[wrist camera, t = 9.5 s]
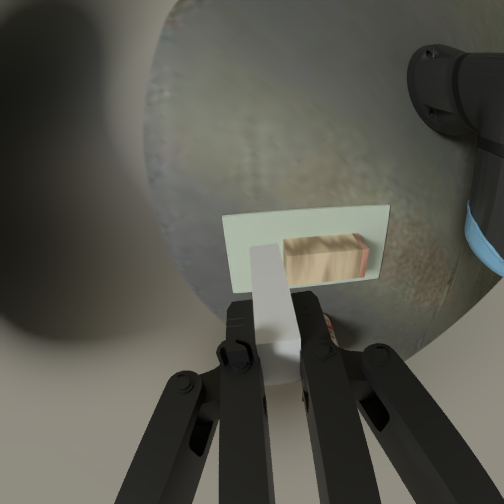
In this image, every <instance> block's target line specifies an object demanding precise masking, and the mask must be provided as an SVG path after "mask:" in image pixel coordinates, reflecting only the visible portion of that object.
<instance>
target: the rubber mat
mask: <svg viewBox="0 0 504 504" xmlns="http://www.w3.org/2000/svg"><path fill="white" fill-rule="evenodd" d="M389 210H390V205H389V204H384V205H359V206H339V207H322V208H306V209H292V210H278V211H266V212H254V213H243V214H232V215H222V220H223V227H224V234H225V241H226V248H227V255H228V262H229V268H230V275H231V281H232V288H233V293H242V292H252V279H251V264H250V248H249V247H252V246H259V245H267V244H274V243H278V245H279V249H280V253H281V257H282V261H283V239H289V238H301V237H313V236H326V235H339V234H352V233H358V235H359V236H360V237H361V239H362V240H363V241H364V243H365V244H366V245H367V247H368V248H369V253H368V260H367V266H366V272H365V277H363V278H355V279H346V280H338V281H329V282H320V283H310V284H301V285H291V286H289V288H298V287H308V286H317V285H326V284H335V283H343V282H352V281H360V280H367V279H375V278H378V277H379V272H380V267H381V262H382V256H383V251H384V245H385V239H386V232H387V225H388V218H389Z"/></svg>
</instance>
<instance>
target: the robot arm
mask: <svg viewBox="0 0 504 504" xmlns="http://www.w3.org/2000/svg"><path fill="white" fill-rule="evenodd" d="M407 84H408V90H409V94H410V98H411V101H412V103H413V105H414V107H415V109H416V111H417V113H418V114H419V116H420V117H421V118H422V120H423V121H424V122H425V123H426V124H427V125H428V126H429V127H431V128H432V129H434V130H436V131H438V132H441V133H444V134H448V135H454V136H457V135H463V134H469V133H474V132H478V142H477V151H476V161H475V169H474V176H473V182H472V188H471V194H470V199H468V202H467V209H468V210H467V216H466V221H465V228H464V230H465V237H466V239H467V242H468V243H469V246H470V248H471V249H472V251H473V252H474V253H475V255H476V256H477V257H478V258H479V259H480V260H481V261H482V262H483V263H484V264H485V265H486V266H487V267H489V268H490V269H491V270H492V271H494V272H495V273H497V274H498V275H500V276H502V277H504V53H466V52H463V51H461V50H458V49H455V48H452V47H449V46H446V45H441V44H434V45H427V46H424V47H421V48H420V49H418V50H417V51H416V52H415V53H414V54H413V56H412V58H411V60H410V62H409V66H408V71H407ZM249 248H250V264H251V279H252V295H253V299H252V300H245V301H236V302H232V303H231V304H230V306H229V308H228V310H227V323H226V327H227V328H226V340H225V341H223V342H222V343H221V344H220V345H219V346H218V348H217V351H216V354H217V357H218V359H219V362H220V365H219V366H218V367H217V368H215V369H213V370H211V371H209V372H206V373H203V374H200V375H198V374H197V373H195V372H193V371H181V372H178V373H176V374H174V375H173V376H171V378H170V379H169V380H168V382H167V384H166V387H165V389H164V391H163V393H162V395H161V397H160V399H159V402H158V404H157V406H156V408H155V411H154V413H153V415H152V417H151V419H150V422H149V424H148V426H147V428H146V431H145V433H144V435H143V437H142V440H141V442H140V444H139V447H138V449H137V451H136V453H135V456H134V458H133V460H132V463H131V465H130V467H129V470H128V472H127V475H126V477H125V479H124V481H123V484H122V486H121V489H120V491H119V493H118V496H117V498H116V501H115V503H114V504H192V502H193V499H194V496H195V493H196V490H197V487H198V483H199V480H200V478H201V474H202V471H203V468H204V465H205V462H206V459H207V455H208V453H209V449H210V446H211V443H212V440H213V437H214V434H215V430H216V426H217V424H218V421H219V419H220V427H219V504H275V495H274V484H273V472H272V460H271V449H270V438H269V426H268V415H267V403H266V396H265V390H264V386H269V385H277V384H284V383H291V382H298V381H301V380H302V386H303V396H302V401H304V404H305V410H306V416H307V422H308V428H309V433H310V440H311V446H312V452H313V458H314V464H315V471H316V478H317V484H318V491H319V498H320V504H381V500H380V496H379V491H378V486H377V482H376V478H375V474H374V469H373V465H372V461H371V457H370V454H369V449H368V446H367V442H366V438H365V434H364V431H363V427H362V423H361V420H360V416H359V413H358V409H359V411H360V412H361V414H362V416H363V417H364V419H365V421H366V422H367V424H368V425H369V427H370V429H371V430H372V432H373V434H374V435H375V437H376V438H377V440H378V442H379V443H380V445H381V447H382V448H383V450H384V451H385V453H386V455H387V456H388V458H389V460H390V461H391V463H392V465H393V466H394V468H395V469H396V471H397V473H398V474H399V476H400V477H401V479H402V481H403V483H404V484H405V486H406V488H407V489H408V491H409V492H410V494H411V496H412V497H413V499H414V501H415V502H416V504H504V499H503V498H502V496H501V494H500V492H499V491H498V489H497V487H496V486H495V484H494V483H493V481H492V480H491V478H490V477H489V475H488V474H487V472H486V471H485V469H484V468H483V466H482V465H481V463H480V462H479V460H478V459H477V458H476V456H475V455H474V453H473V452H472V450H471V449H470V448H469V446H468V445H467V443H466V442H465V440H464V439H463V438H462V436H461V435H460V434H459V432H458V431H457V430H456V428H455V427H454V425H453V424H452V423H451V422H450V420H449V419H448V417H447V416H446V415H445V413H444V412H443V411H442V409H441V408H440V407H439V406H438V404H437V403H436V402H435V400H434V399H433V398H432V396H431V395H430V394H429V393H428V391H427V390H426V389H425V388H424V386H423V385H422V384H421V382H420V381H419V380H418V379H417V377H415V375H414V374H413V373H412V372H411V370H410V369H409V368H408V366H407V365H406V364H405V363H404V361H403V360H402V359H401V358H400V357H399V355H398V354H397V353H396V352H395V351H394V350H393V349H392V348H391V347H390V346H388V345H385V344H380V343H376V344H372V345H369V346H368V347H367V348H365V350H364V351H363V352H358V351H348V350H344V349H341V348H339V347H338V346H336V344H335V343H334V342H333V341H332V339H331V336H330V333H329V330H328V327H327V324H326V321H325V318H324V315H323V312H322V309H321V307H320V303H319V300H318V297H317V296H316V295H315V294H314V293H312V292H311V291H305V292H298V293H291V294H290V290H289V286H288V282H287V277H286V273H285V269H284V265H283V261H282V257H281V253H280V249H279V245H278V243H274V244H267V245H259V246H252V247H249ZM357 408H358V409H357Z"/></svg>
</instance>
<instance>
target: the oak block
mask: <svg viewBox="0 0 504 504" xmlns="http://www.w3.org/2000/svg"><path fill="white" fill-rule="evenodd" d="M368 253H369V248H368V247H367V245H366V244H365V243H364V241H363V240H362V239H361V237H360V236H359V235H358V233H352V234H339V235H326V236H313V237H301V238H289V239H283V265H284V269H285V273H286V277H287V282H288V286H291V285H301V284H310V283H320V282H329V281H338V280H346V279H355V278H363V277H365V272H366V266H367V260H368Z"/></svg>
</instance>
